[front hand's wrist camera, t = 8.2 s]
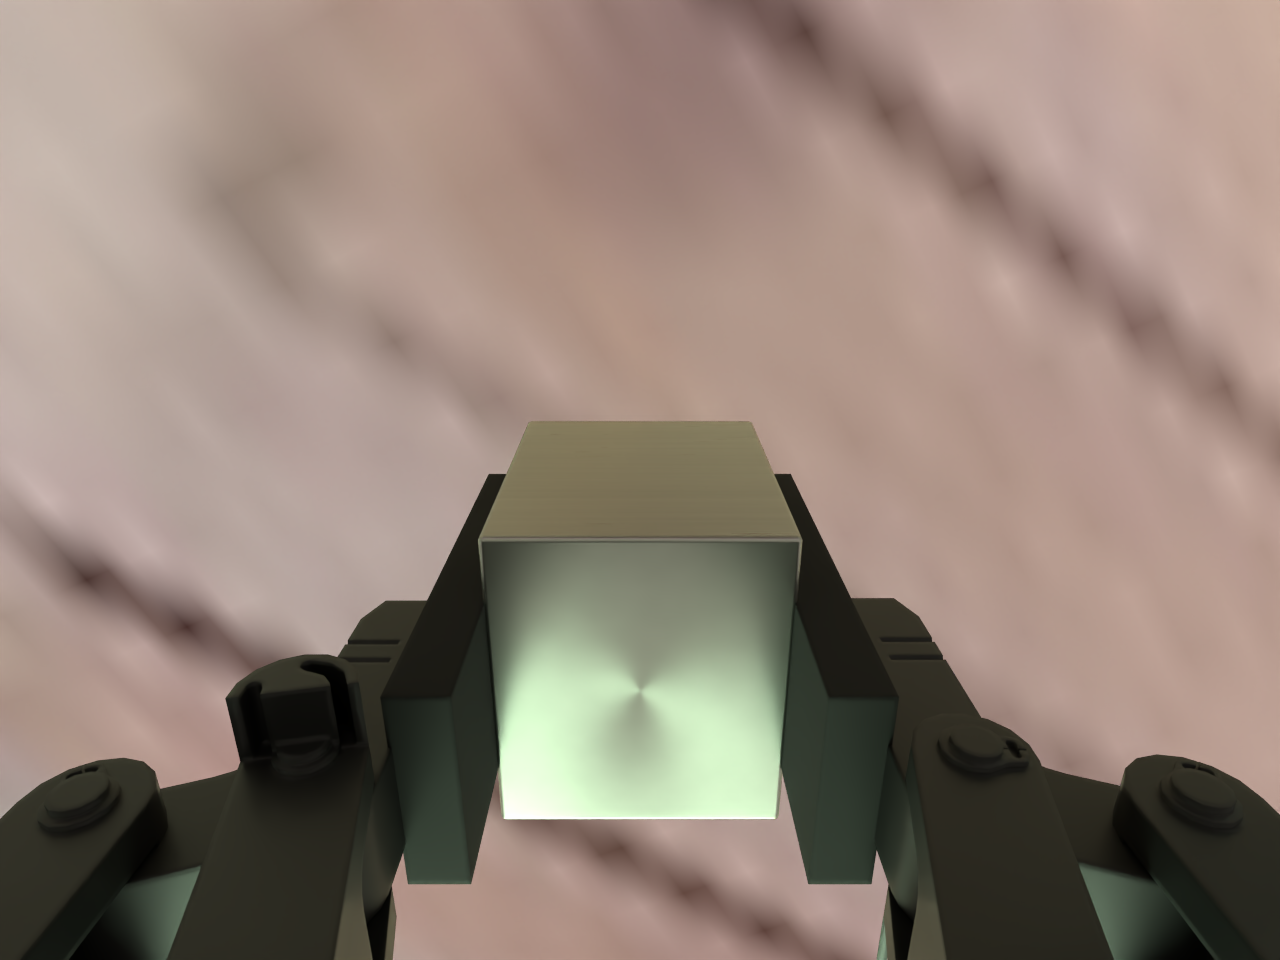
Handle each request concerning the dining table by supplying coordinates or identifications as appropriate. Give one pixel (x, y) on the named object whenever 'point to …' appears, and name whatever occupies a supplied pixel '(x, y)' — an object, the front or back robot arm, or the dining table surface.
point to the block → (640, 622)
